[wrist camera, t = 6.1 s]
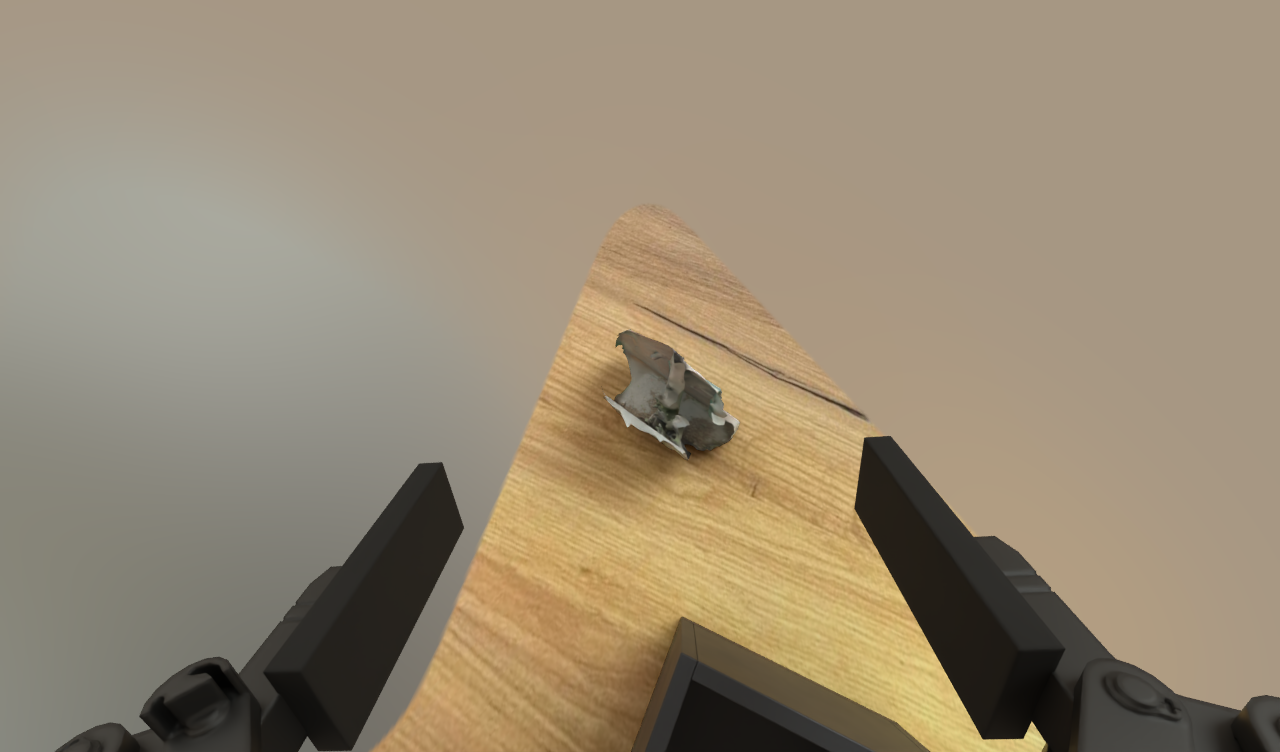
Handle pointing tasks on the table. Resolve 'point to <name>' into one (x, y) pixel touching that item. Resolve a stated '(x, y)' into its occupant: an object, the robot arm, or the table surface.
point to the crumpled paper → (671, 398)
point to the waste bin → (753, 706)
